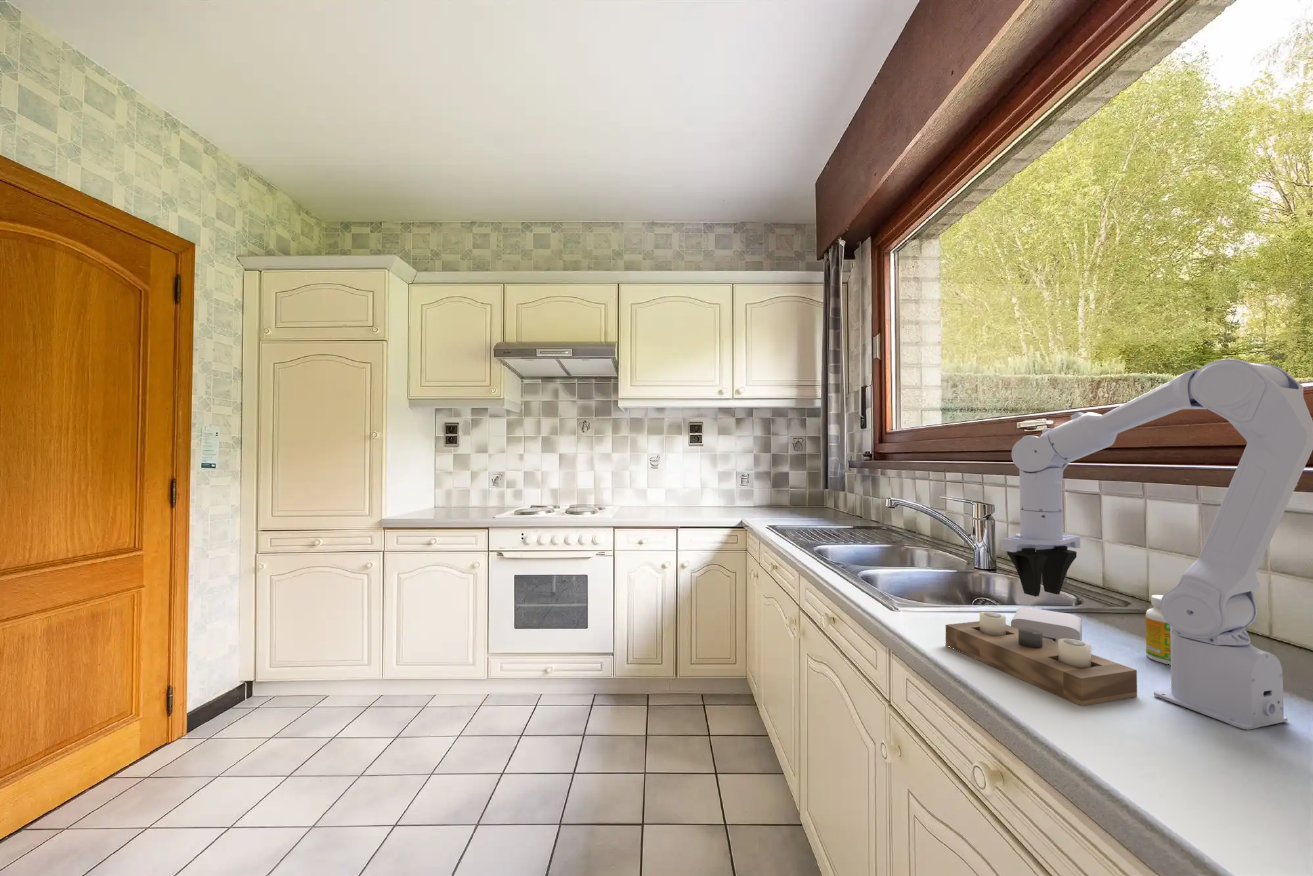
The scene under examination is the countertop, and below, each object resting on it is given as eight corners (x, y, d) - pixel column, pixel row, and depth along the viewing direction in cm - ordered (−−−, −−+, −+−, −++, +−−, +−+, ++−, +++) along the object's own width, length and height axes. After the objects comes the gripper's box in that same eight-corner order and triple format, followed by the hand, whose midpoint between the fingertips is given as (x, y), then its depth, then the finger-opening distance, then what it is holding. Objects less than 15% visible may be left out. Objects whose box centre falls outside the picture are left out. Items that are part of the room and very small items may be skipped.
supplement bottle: (1164, 666, 82) (1163, 602, 82) (1137, 653, 88) (1136, 593, 88) (1203, 668, 82) (1202, 603, 82) (1173, 654, 87) (1173, 594, 87)
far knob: (1011, 637, 86) (1011, 617, 86) (993, 639, 85) (993, 618, 85) (991, 629, 90) (991, 610, 90) (974, 631, 89) (974, 612, 89)
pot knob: (1047, 647, 80) (1047, 633, 80) (1032, 649, 80) (1031, 635, 80) (1028, 640, 83) (1028, 627, 83) (1013, 642, 82) (1013, 629, 82)
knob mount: (1137, 696, 72) (1136, 669, 72) (1081, 705, 69) (1081, 678, 69) (992, 640, 93) (992, 619, 93) (945, 645, 90) (945, 624, 91)
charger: (1083, 634, 97) (1080, 658, 86) (1021, 623, 103) (1011, 645, 92) (1082, 607, 97) (1079, 628, 86) (1021, 598, 103) (1010, 617, 92)
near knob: (1097, 669, 74) (1097, 645, 74) (1078, 672, 73) (1077, 648, 73) (1070, 659, 77) (1070, 636, 77) (1051, 661, 76) (1051, 639, 76)
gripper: (1050, 506, 94) (1051, 584, 94) (984, 508, 90) (985, 590, 90) (1093, 511, 87) (1094, 595, 87) (1024, 513, 83) (1024, 602, 83)
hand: (1041, 593), depth 88 cm, fingers open, 4 cm apart
